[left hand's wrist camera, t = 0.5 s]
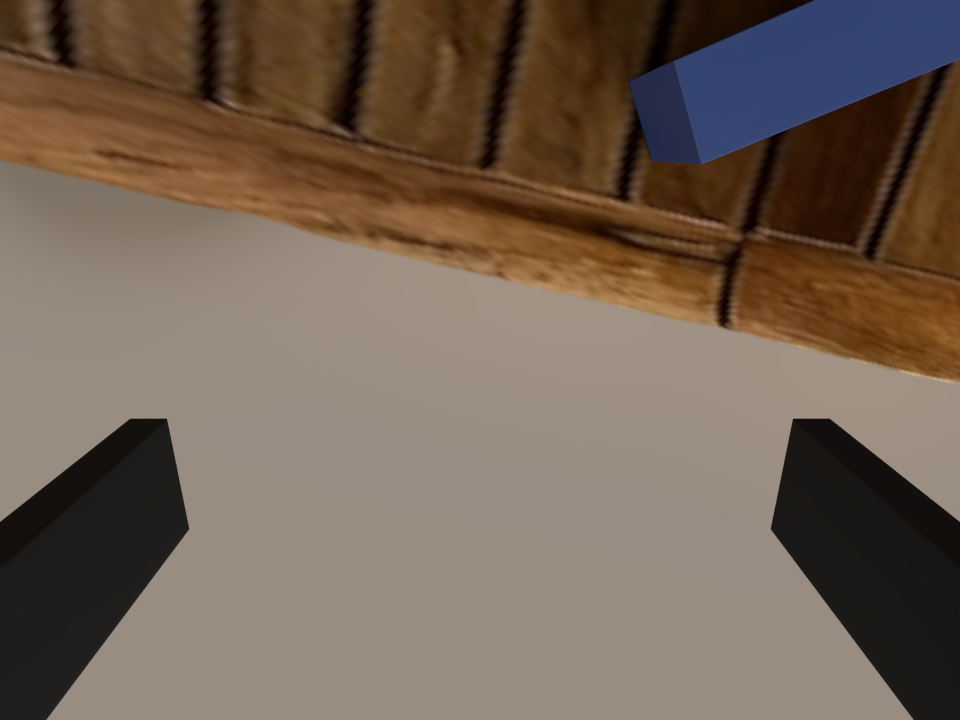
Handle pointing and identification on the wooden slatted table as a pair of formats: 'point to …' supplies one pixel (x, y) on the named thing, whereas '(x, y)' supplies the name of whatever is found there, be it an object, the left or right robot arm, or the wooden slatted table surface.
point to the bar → (790, 73)
